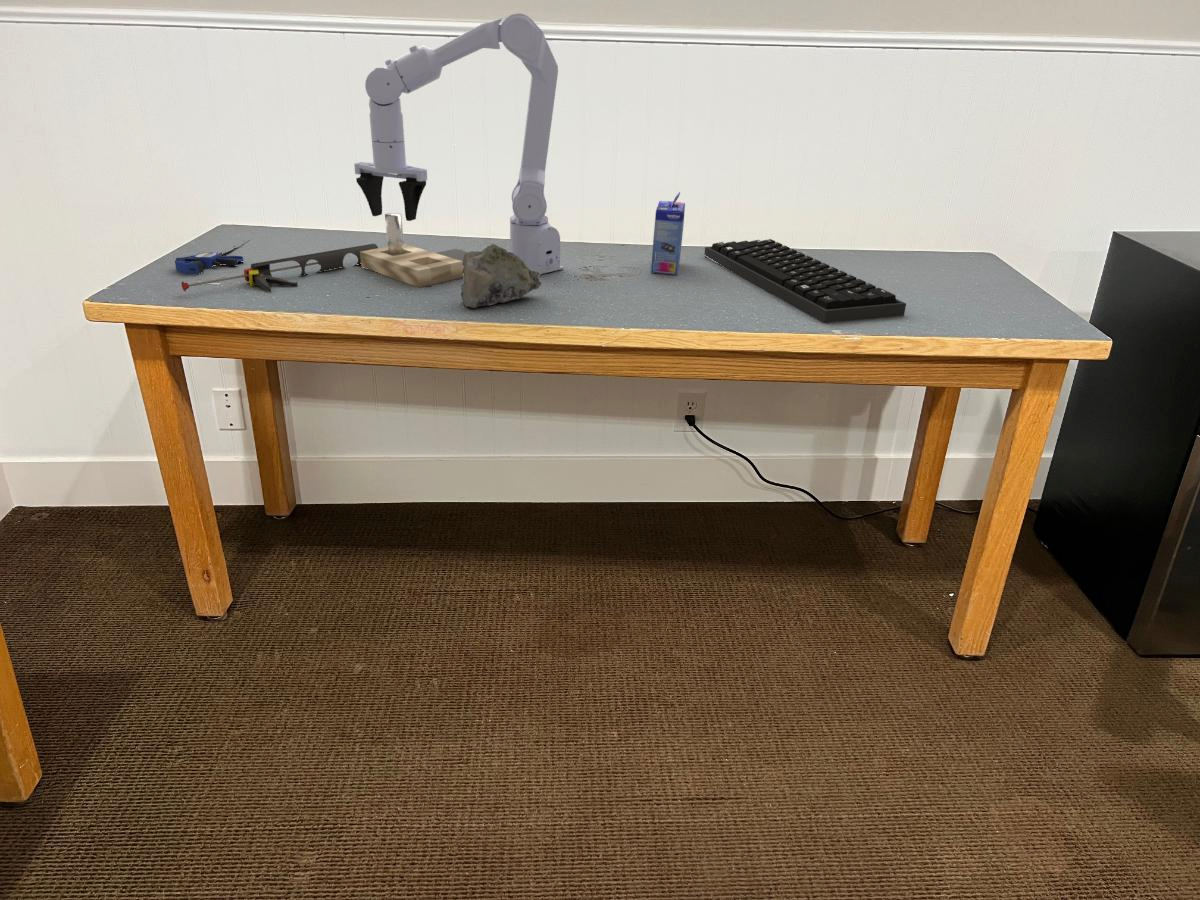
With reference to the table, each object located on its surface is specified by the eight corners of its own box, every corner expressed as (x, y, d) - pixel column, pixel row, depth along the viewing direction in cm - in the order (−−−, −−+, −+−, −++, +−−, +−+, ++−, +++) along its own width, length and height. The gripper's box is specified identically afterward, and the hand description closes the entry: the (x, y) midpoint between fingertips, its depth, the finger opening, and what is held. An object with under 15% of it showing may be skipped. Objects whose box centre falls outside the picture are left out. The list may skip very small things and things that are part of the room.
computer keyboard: (704, 259, 180) (705, 241, 179) (771, 255, 185) (773, 237, 184) (823, 326, 143) (826, 304, 141) (903, 318, 148) (907, 296, 146)
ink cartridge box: (679, 275, 166) (684, 198, 160) (650, 274, 167) (654, 196, 160) (681, 263, 175) (686, 189, 168) (653, 261, 176) (658, 187, 169)
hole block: (463, 277, 161) (462, 261, 159) (419, 287, 154) (418, 270, 153) (404, 258, 171) (403, 243, 170) (361, 267, 165) (359, 251, 163)
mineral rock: (542, 295, 152) (542, 238, 147) (534, 314, 142) (534, 253, 138) (469, 292, 152) (466, 235, 148) (456, 310, 143) (453, 250, 138)
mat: (487, 259, 173) (487, 257, 173) (447, 267, 166) (447, 266, 166) (455, 250, 179) (455, 248, 179) (416, 258, 172) (416, 256, 172)
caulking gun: (396, 257, 164) (367, 237, 169) (202, 293, 140) (175, 268, 145) (395, 277, 167) (366, 256, 172) (204, 315, 142) (177, 290, 148)
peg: (408, 266, 166) (404, 213, 162) (399, 270, 164) (394, 216, 159) (396, 264, 167) (391, 212, 163) (386, 268, 165) (381, 214, 160)
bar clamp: (223, 263, 156) (167, 262, 156) (225, 277, 157) (170, 275, 157) (283, 230, 186) (236, 229, 186) (284, 242, 187) (238, 241, 187)
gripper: (434, 141, 156) (439, 218, 162) (368, 135, 161) (375, 209, 167) (412, 145, 150) (417, 224, 156) (344, 139, 155) (351, 216, 161)
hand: (394, 217), depth 161 cm, fingers open, 7 cm apart
